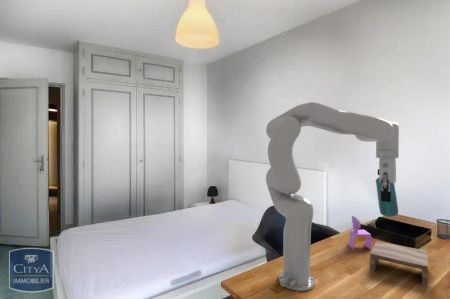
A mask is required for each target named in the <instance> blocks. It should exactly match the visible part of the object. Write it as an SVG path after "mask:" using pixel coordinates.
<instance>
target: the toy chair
mask: <svg viewBox="0 0 450 299" xmlns="http://www.w3.org/2000/svg"><path fill="white" fill-rule="evenodd" d="M351 222H352V229H350V233H349V240H348V242H347V246H348V247H350V248H351V249H352V250H354V249H355V243H356V239H357V238H358V237H365V241H364V244H363V245H364V246H365V247H366V248H367V249H369V250H371V251H372V240H373V238H372V234H371V233H370V232H368V231H367V230H365V229H361V228H362V226H361V221H360V220H359V219H358V217H356V216H355V215H352V216H351Z"/></svg>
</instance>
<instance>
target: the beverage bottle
mask: <svg viewBox="0 0 450 299" xmlns="http://www.w3.org/2000/svg"><path fill="white" fill-rule="evenodd" d="M377 175H378V177H376V179H375V183H376V193H377V201H378V208H379V213H380V214H381V215H382V216H383V217H389V218H390V217H395V216H398V215H399V206H398V205H399V204H398V197H397V194H396V193H397V192H396V187H395V184H392V183H390V192H391V202H383V201H381V191H382V185H383V179H382V180H381V183H380V180H379V168H378V169H377ZM388 183H389V181H387V184H388Z"/></svg>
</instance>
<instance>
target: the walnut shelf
mask: <svg viewBox="0 0 450 299" xmlns="http://www.w3.org/2000/svg"><path fill="white" fill-rule="evenodd" d="M428 253H429V251H428V250H424V249H419V248H414V247H408V246H403V245H398V244H395V243H394V244H393V243H390V242H389V243H388V242H384V241H379V240H376V241H375V243H374V245H373V247H372V248H371V251H370V253H369V254H370V255H369V256H370V257H369V271H370V272H374V273H375V271H376V269H377V266H378V264H379V261H380V260H381V261H385V262H389V263H392V264H398V265H402V266H406V267H411V268H413V269H414V268H415V269H419V270H421V272H422V273H421V284H422V286H425V287H428V277H429V276H428V273H429V272H428V271H429V270H428V269H429V267H428V266H429V264H428V262H429V259H428V258H429V254H428Z"/></svg>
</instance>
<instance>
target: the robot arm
mask: <svg viewBox="0 0 450 299" xmlns="http://www.w3.org/2000/svg"><path fill="white" fill-rule="evenodd" d="M303 127H312V128H316V129H319V130H324V131H327V132H330V133H334V134H338V135H339V134H340V135H349V136H350V135H354V137H355V138H356V139H357V140H359V141H361V142H365V143H366V142H367V143H368V142H369V143H370V142H375V147H376V148H375V157H376V158H377V159H379V160H378V161H379V162H378V164H379V165H378V169H379V175H378V177H379V180H380V183H381V180H382V179H383V185H382V191H381V201H383V202H391V192H390V183H392V184H394V185H395V183H396V181H397V165H396V159H399V149H400V146H399V137H400V134H399V133H400V131H399V130H400V125H399V123H398V122H395V121H393V122H392V121H388V120H386V119H382V118H379V117H376V116H372V115H368V114H363V113H362V114H361V113H356V112H351V111H345V110H342V109H337V108H334V107H331V106H328V105H325V104H321V103H318V102H315V101H314V102H312V101H310V102H306V103H302V104H298V105H296V106H294V107H292V108H291V109H288V110H287V111H285V112H283V113H281V114H280V115H278V116H276V117H275V118H272V119H271V120H270V121H269V122H268V123H267V125H266V131H265V132H266V134H267V136H268V138H269V142H268V146H267V157H268V160H269V161H268V162H269V165H270V167H269V169H268V171H266V175H265V181H266V182H265V183H266V187H267V189H268V193H269V195H270V199H271V201H272V204H273V207H274V208H275V211H276V212H278V214H280V215H282V216H283V217H285V224H284V227H283V234H282V235H283V244H282V245H283V246H282V247H283V249H282V250H283V252H282V257H283V260H282V266H283V267H282V272H281V273H280V274H279V275H278V280H279V285H280V286H281V287H285V288H286V289H289V290H292V291H295V292H296V291H298V292H304V291H310V290H311V289H313V288H314V287H315V279H314V277H313V276H312V275H311V249H312V248H311V239H312V238H311V236H312V235H311V233H312V224H313V219H314V212H315V211H314V207H313V204H312V203H311V201H310V200H309V199H308V198H306V197H304V196H302V195H300V194H297V193H298V192H299V191H300V189H301V187H302V180H301V176H300V173H299V171H298V168H297V164H296V161H295V158H294V154H293V148H294V144H295V143H296V141H297V139H298V137H299V136H300V134H301V130H302V128H303ZM387 181H389V183H388V184H387Z"/></svg>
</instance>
